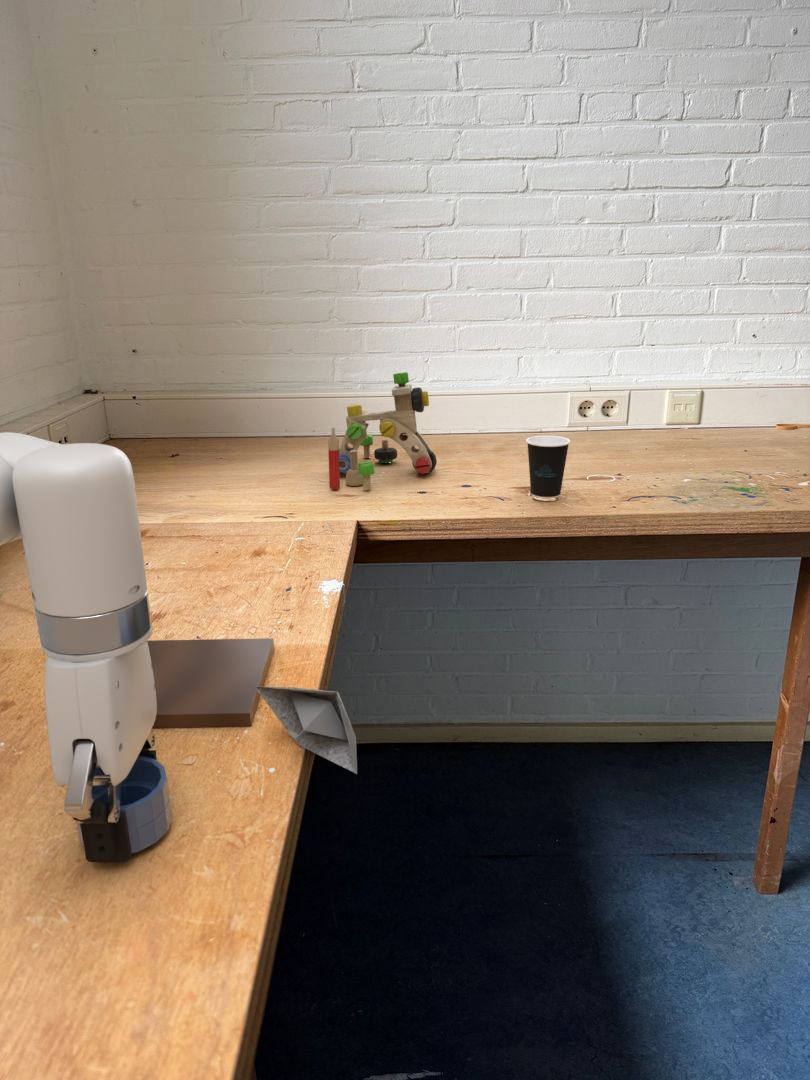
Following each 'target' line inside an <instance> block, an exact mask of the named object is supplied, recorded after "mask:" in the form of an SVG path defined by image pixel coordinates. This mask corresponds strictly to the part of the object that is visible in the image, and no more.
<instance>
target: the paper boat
mask: <svg viewBox="0 0 810 1080" xmlns="http://www.w3.org/2000/svg"><path fill="white" fill-rule="evenodd" d="M254 687H255V688H256V689H257V691H258V692H259V693H260V697H261V698H262V699H263V700H264V701H265V703H266V704H267V705H268V707H269V708H270V710H271V711H272V712H273V714H274V715H275V717H276V718H277V719H278V720H279V722H280V723H281V724H282V726H283V727H284V729H285V730H286V732H287V733H288V734H289V735H290V737H291V738H292V740H294V742H295V743H296V745H298V746H299V747H301V748H304V749H305V750H308V751H310V752H311V753H314V754H316V755H317V756H320V757H322V758H324V759H326V760H328V761H329V762H332V763H333V764H336V765H338V766H340V767H342V768H344V769H346V770H348V771H350V772H352V773H354V774H356V775H358V756H357V754H358V753H357V737H356V734H355V731H354V729H353V726H352V723H351V721H350V718H349V716H348V713H347V711H346V707H345V706H344V702H343V700H342V698H341V695H340V693H339V691H334V690H333V691H331V690H322V689H314V688H313V689H312V688H305V687H304V688H303V687H293V686H263V687H260V686H254Z"/></svg>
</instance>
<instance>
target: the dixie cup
mask: <svg viewBox="0 0 810 1080" xmlns="http://www.w3.org/2000/svg"><path fill="white" fill-rule="evenodd" d="M525 442H526V443H527V457H528V472H529V485H530V494H531V496H534V497H536V498H542V499H550V498H556V497H558V496H559V497H560V495H561V492H562V486H563V480H564V473H565V470H566V462H567V456H568V451H569V445H570V444H571V440H570V439H569V438H567V437H563V436H558V435H535V436H530V437H528V438H526V441H525Z"/></svg>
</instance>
